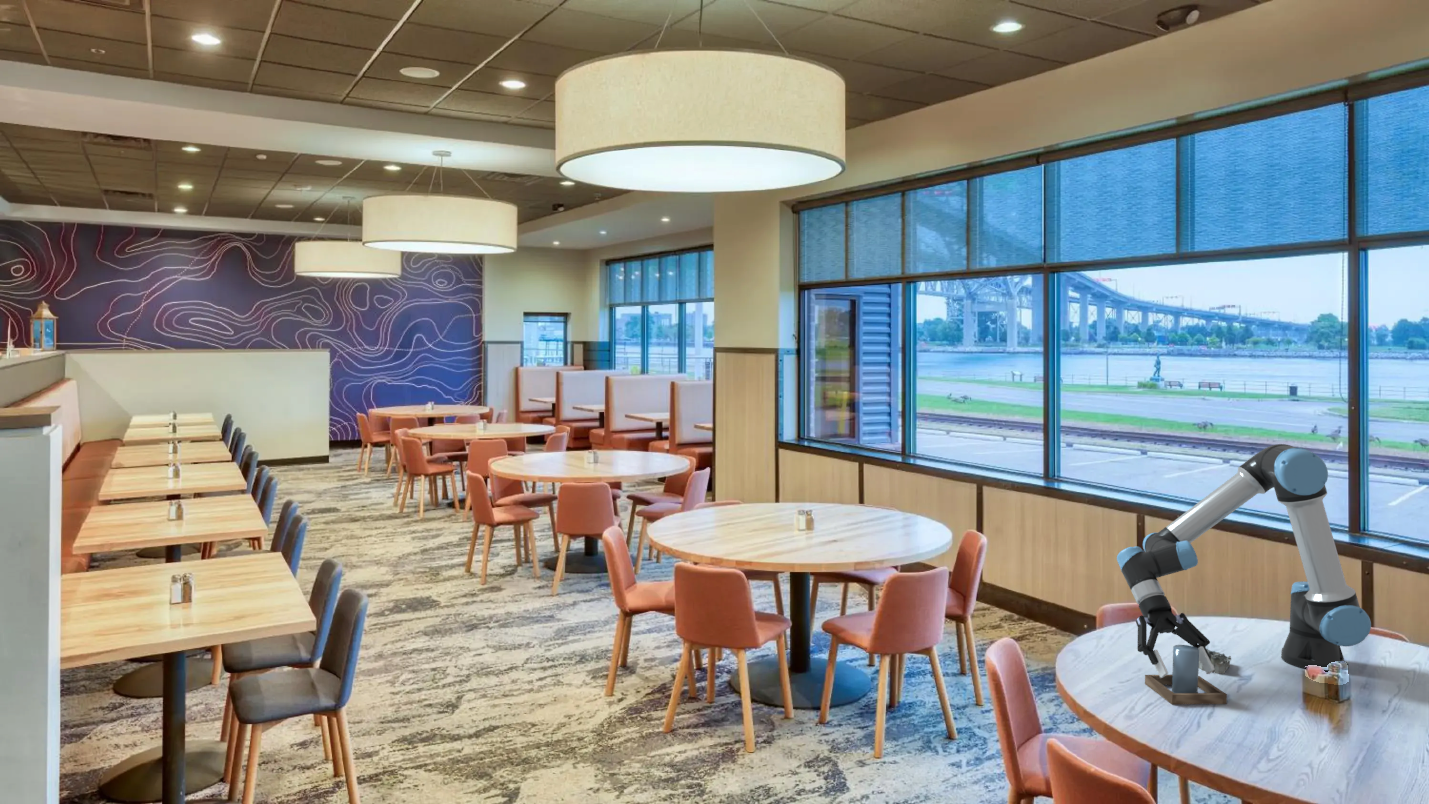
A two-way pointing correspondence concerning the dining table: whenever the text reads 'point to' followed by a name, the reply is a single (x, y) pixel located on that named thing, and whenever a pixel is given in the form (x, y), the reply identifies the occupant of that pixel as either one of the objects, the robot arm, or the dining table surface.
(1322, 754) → the dining table surface
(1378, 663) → the dining table surface
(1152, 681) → the wooden square frame
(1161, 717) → the dining table surface
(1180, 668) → the slate jar
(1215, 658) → the egg carton
